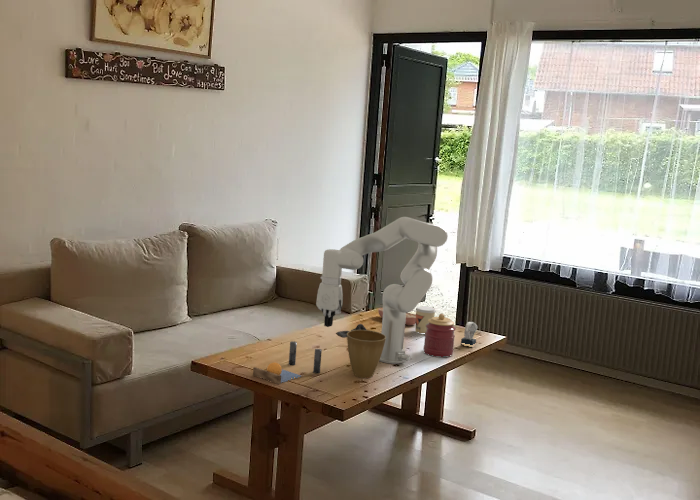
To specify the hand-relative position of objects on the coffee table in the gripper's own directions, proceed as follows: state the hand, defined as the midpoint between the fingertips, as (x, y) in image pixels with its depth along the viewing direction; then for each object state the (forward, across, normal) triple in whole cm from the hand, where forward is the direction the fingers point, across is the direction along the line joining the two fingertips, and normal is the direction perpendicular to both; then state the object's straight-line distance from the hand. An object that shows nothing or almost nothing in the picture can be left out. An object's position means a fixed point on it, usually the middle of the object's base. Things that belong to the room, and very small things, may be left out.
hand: (328, 325), depth 303 cm
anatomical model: (+16, -20, +81) cm, 85 cm away
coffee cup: (+15, 0, +74) cm, 76 cm away
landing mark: (+15, 0, -27) cm, 31 cm away
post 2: (+15, +6, -13) cm, 21 cm away
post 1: (+15, -6, -13) cm, 21 cm away
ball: (+12, 0, -30) cm, 32 cm away
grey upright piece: (+16, +25, +72) cm, 78 cm away
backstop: (+15, 0, -34) cm, 37 cm away
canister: (+15, +23, +49) cm, 57 cm away
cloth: (+16, -15, +44) cm, 49 cm away
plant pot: (+15, +20, -2) cm, 25 cm away
